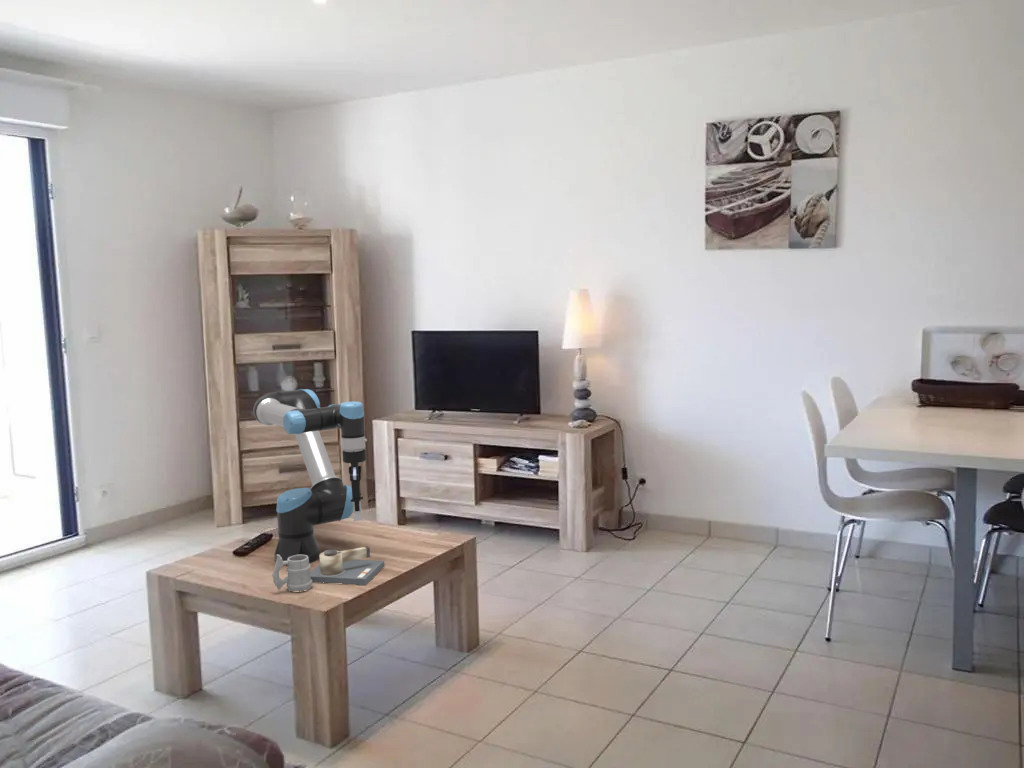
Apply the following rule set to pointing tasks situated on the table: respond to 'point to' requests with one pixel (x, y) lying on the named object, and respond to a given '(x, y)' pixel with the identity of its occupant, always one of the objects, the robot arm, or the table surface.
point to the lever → (340, 559)
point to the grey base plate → (350, 572)
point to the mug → (293, 573)
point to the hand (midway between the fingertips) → (357, 519)
